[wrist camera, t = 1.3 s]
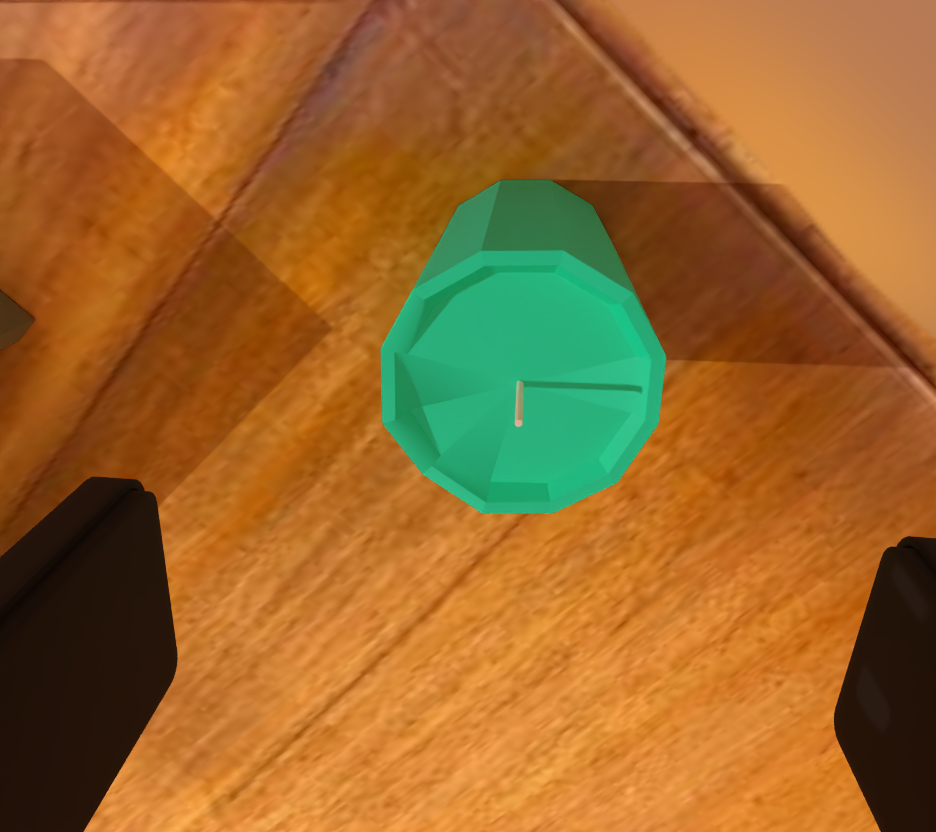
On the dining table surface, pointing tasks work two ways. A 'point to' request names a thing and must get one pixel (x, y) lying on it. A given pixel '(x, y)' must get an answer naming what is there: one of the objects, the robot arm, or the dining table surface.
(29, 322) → the shelf
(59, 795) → the robot arm
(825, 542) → the dining table surface
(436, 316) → the candle
